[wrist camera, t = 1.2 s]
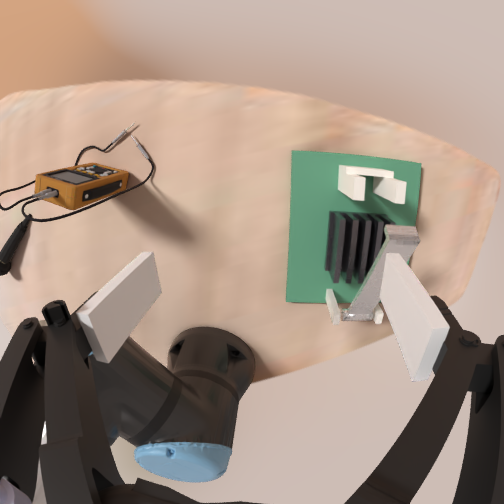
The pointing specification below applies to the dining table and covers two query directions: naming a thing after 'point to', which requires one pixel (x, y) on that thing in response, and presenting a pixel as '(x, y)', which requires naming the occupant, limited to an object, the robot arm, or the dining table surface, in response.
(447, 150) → the dining table surface
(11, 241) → the microphone
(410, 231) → the clamp bar
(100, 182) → the multimeter
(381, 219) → the heat sink
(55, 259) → the dining table surface
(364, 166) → the circuit board
